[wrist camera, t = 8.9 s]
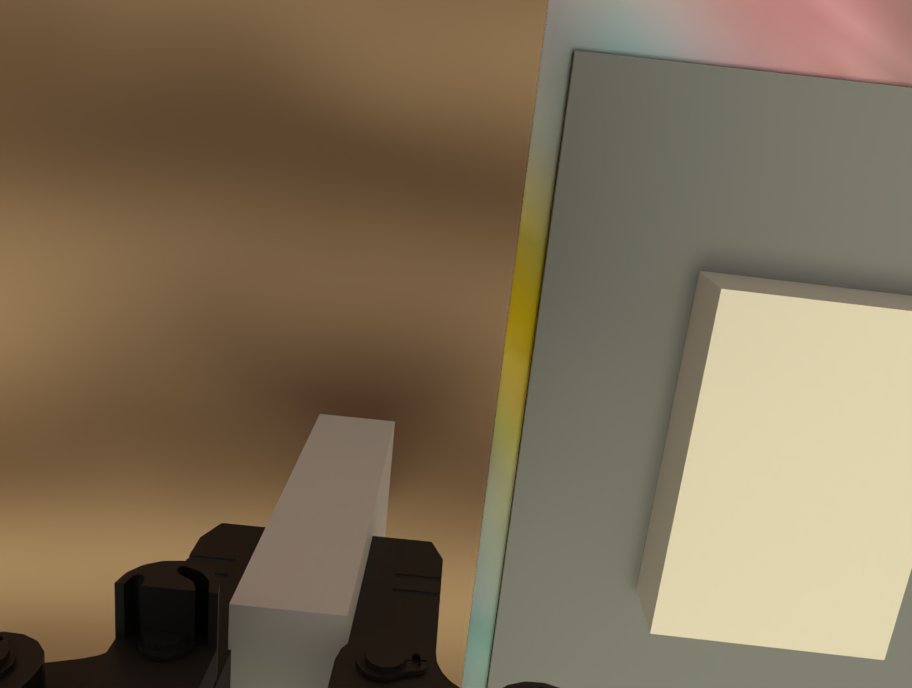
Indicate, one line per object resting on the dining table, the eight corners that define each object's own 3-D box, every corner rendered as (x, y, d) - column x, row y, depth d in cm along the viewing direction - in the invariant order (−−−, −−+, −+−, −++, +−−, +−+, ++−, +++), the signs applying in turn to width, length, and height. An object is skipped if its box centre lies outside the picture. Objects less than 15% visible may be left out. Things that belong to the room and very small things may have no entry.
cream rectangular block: (986, 320, 20) (940, 299, 22) (721, 289, 20) (699, 270, 21) (884, 660, 22) (851, 614, 24) (649, 633, 22) (635, 589, 24)
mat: (573, 50, 20) (575, 50, 20) (1251, 125, 20) (1262, 126, 20) (485, 697, 25) (485, 704, 25) (1027, 754, 26) (1034, 762, 25)
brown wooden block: (-74, -116, 20) (-208, -165, 16) (542, -47, 20) (558, -79, 16) (-25, 701, 26) (-112, 807, 22) (444, 750, 26) (438, 865, 22)
